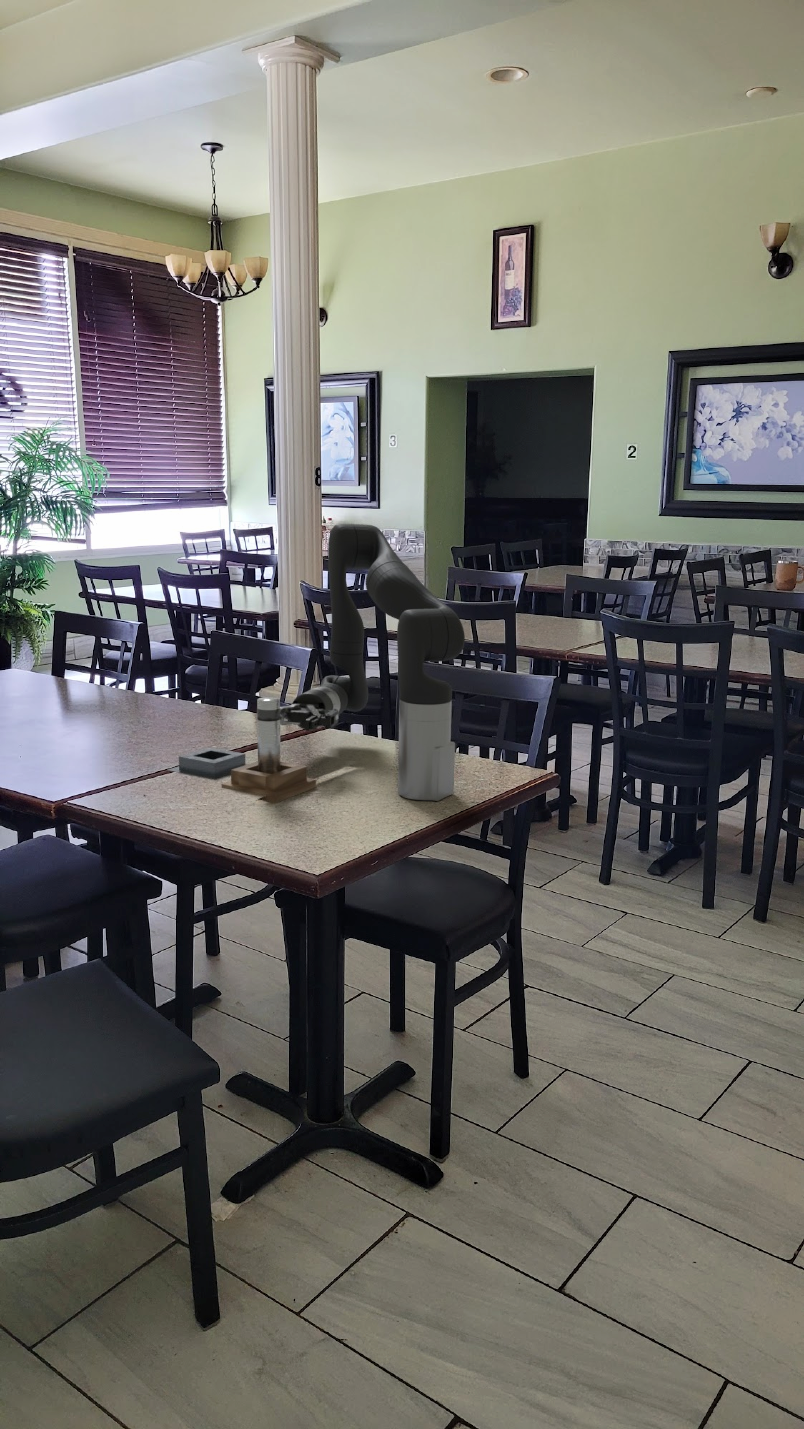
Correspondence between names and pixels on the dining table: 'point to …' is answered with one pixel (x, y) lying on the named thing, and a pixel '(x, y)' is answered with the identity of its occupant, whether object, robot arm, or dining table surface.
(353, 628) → the robot arm
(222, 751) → the socket
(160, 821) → the dining table surface
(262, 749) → the clear test tube
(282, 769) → the brown wooden square holder
